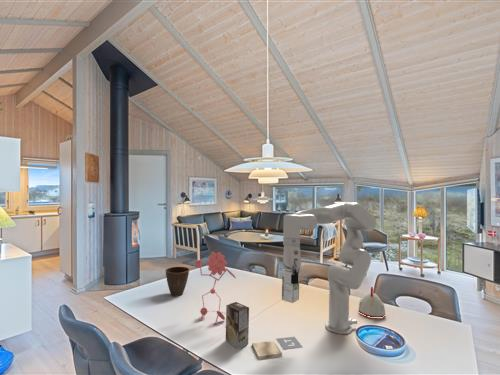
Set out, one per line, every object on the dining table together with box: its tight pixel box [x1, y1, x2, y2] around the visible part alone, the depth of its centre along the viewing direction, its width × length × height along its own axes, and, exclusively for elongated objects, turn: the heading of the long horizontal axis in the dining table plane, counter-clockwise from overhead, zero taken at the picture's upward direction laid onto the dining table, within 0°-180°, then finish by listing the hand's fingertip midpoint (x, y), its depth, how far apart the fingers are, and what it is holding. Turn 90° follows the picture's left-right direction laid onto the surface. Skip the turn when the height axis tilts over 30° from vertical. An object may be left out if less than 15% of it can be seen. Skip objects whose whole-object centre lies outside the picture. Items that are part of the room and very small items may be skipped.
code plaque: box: [276, 336, 304, 350], centre depth 124 cm, size 9×9×1 cm
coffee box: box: [225, 301, 250, 350], centre depth 124 cm, size 9×6×16 cm
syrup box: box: [281, 267, 301, 304], centre depth 125 cm, size 6×6×14 cm
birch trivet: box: [251, 340, 283, 360], centre depth 117 cm, size 10×10×1 cm
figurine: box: [194, 251, 237, 325], centre depth 149 cm, size 15×26×35 cm, turn 64°
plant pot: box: [165, 266, 190, 297], centre depth 181 cm, size 15×15×16 cm
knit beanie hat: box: [358, 286, 386, 317], centre depth 159 cm, size 14×14×15 cm
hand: (290, 280), depth 125 cm, fingers closed on syrup box, 7 cm apart
